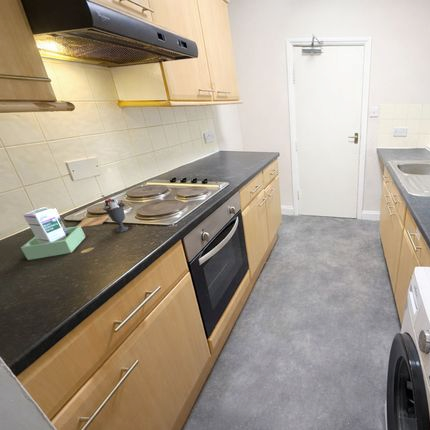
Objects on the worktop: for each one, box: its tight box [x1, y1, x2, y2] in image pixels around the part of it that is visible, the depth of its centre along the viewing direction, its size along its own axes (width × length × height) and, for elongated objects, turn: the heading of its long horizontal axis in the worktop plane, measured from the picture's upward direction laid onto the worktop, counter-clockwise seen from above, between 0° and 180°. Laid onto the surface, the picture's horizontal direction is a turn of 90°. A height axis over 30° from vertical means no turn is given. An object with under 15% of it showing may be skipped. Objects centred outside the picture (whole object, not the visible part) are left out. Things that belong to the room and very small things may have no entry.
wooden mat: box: [76, 214, 110, 228], centre depth 110 cm, size 9×9×1 cm
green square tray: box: [20, 225, 86, 261], centre depth 90 cm, size 11×11×5 cm
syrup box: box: [22, 206, 69, 244], centre depth 88 cm, size 6×6×14 cm
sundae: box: [101, 194, 130, 233], centre depth 100 cm, size 7×7×15 cm
